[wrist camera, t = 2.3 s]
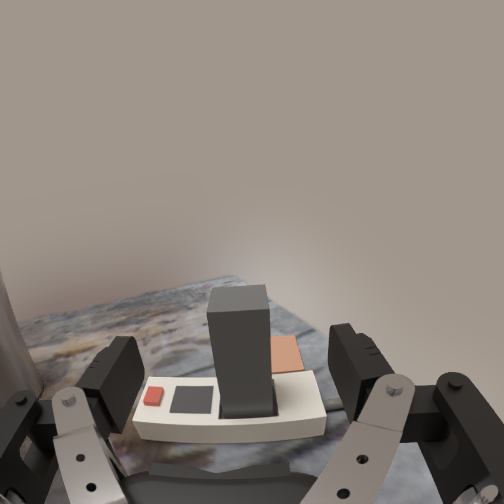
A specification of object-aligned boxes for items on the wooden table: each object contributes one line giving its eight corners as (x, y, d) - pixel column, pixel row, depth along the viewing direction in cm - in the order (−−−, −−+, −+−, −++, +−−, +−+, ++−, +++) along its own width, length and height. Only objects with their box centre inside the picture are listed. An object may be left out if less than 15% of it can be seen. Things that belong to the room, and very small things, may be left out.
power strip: (141, 438, 23) (130, 416, 22) (155, 395, 30) (147, 372, 29) (362, 427, 24) (368, 404, 23) (344, 384, 30) (348, 361, 29)
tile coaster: (238, 377, 33) (238, 374, 33) (239, 342, 41) (238, 339, 41) (304, 372, 34) (304, 369, 33) (294, 338, 41) (294, 335, 41)
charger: (224, 421, 24) (206, 312, 21) (226, 390, 29) (212, 287, 25) (273, 418, 24) (269, 308, 21) (269, 387, 29) (265, 283, 25)
